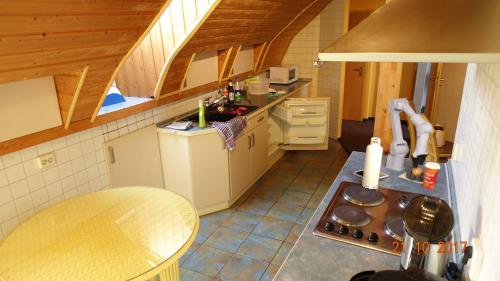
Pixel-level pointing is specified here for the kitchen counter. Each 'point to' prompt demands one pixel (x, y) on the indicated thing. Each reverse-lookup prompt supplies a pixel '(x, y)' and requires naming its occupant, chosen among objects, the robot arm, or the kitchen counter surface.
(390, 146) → the robot arm
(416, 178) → the dark brown round dish
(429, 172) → the paper cup
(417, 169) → the tan rounded lump
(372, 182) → the bottle
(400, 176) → the mat
